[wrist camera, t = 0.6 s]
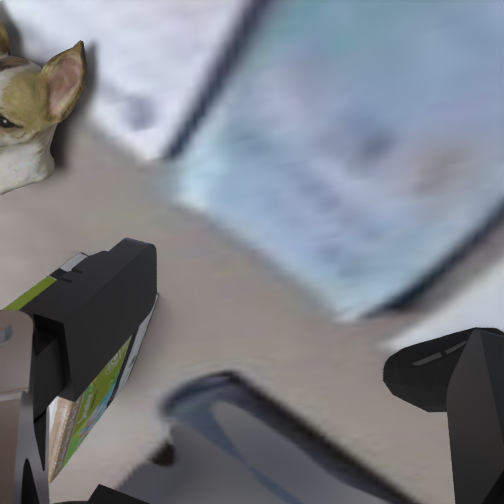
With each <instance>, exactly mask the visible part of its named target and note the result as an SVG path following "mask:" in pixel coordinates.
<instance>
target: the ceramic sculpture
mask: <svg viewBox="0 0 504 504" xmlns="http://www.w3.org/2000/svg"><path fill="white" fill-rule="evenodd" d="M10 43H11V42H10V38H9V35H8V33H7V31H6V29H5V28H4V26H3V24H2V23H1V21H0V195H2V194H4V193H7V192H9V191H12V190H14V189H17V188H20V187H22V186H26V185H29V184H32V183H35V182H39V181H42V180H44V179H46V178H48V177H49V176H51V175H52V173H53V172H54V169H55V162H54V159H53V157H52V156H51V153H50V145H51V142H52V139H53V135H54V132H55V129H56V127H57V124H58V123H59V122H62V121H63V120H65V119H66V118H67V117H68V116H69V115H70V114H71V113H72V110H73V108H74V107H76V105H77V103H78V102H79V99H80V96H81V94H82V92H83V91H84V87H85V84H86V75H87V64H86V56H85V49H84V43H83V41H81V40H80V41H79V42H78V43H77V44H76V45H75V46H74V47H73V48H70V49H68V50H66V51H63V52H61V53H59V54H57V55H56V56H54V57H53V58H51V59H50V60H49V61H48V62H47V63H46V64H45V65H44V67H43V69H42V68H41V67H39V66H38V65H37V64H35V63H34V62H32V61H30V60H27V59H25V58H22V57H16V56H9V55H10Z"/></svg>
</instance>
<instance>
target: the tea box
mask: <svg viewBox="0 0 504 504" xmlns="http://www.w3.org/2000/svg"><path fill="white" fill-rule="evenodd" d="M86 257H88V256H86V255H83V254H81V253H79V254H77V255H76V256H75V257H73V258H72V259H70V260H69V261H67V262H66V263H65V264H63V265H62V266H61V267H60V268H58V269H57V270H55V271H54V272H53V273H52V274H50V275H49V276H47V277H46V278H45V279H43V280H42V281H40V282H39V283H38V284H37V285H35V286H34V287H32V288H31V289H30V290H28V291H27V292H26V293H24V294H23V295H21V296H20V297H19V298H17V299H16V300H15V301H14V302H12V303H11V304H9V305H8V306H7V307H5V308H4V309H10V310H19V309H20V308H22V307H23V306H24V305H26V304H27V303H28V302H29V301H31V300H32V299H33V298H34V297H36V296H37V295H38V294H40V293H41V292H42V291H43V290H45V289H46V288H47V287H49V286H50V285H51V284H52V283H54V282H55V281H56V280H60V277H61V276H63V275H64V274H65V273H66V272H68V271H71V269H72V268H73V267H74V266H75V265H77V264H78V263H79V262H81V261H82V260H83V259H84V258H86ZM157 298H158V294H157V295H156V300H155V303H154V306H155V304H156V301H157ZM154 306H153V308H152V310H151V312H150V314H149V315H148V316H147V318H146V319H145V320H144V321H143V322H142V323H141V325H140V326H139V327H138V328H137V329H136V331H135V332H134V333H133V334H132V335H131V337H130V338H129V339H128V340H127V341H126V342H125V344H124V345H123V346H122V347H121V348H120V350H119V351H118V352H117V353H116V354H115V356H114V357H113V358H112V359H111V360H110V361H109V363H108V364H107V365H106V366H105V367H104V369H103V370H102V371H101V372H100V373H99V375H98V376H97V377H96V378H95V379H94V381H93V382H92V383H91V384H90V385H89V386H88V388H87V389H86V390H85V391H84V392H83V394H82V395H81V396H80V397H79V398H78V400H77V401H76V402H72V401H69V400H66V399H63V398H61V397H58V396H57V397H56V398H55V399H54V400H53V402H52V403H51V404H50V405H49V412H50V424H49V474H48V483H49V484H50V483H51V482H52V481H53V480H54V479H55V477H56V476H57V475H58V474H59V472H60V471H61V470H62V468H63V467H64V466H65V464H66V463H67V462H68V460H69V459H70V458H71V456H72V455H73V453H74V452H75V451H76V449H77V448H78V446H79V445H80V444H81V443H82V441H83V440H84V439H85V437H86V436H87V435H88V433H89V432H90V430H91V429H92V428H93V426H94V425H95V424H96V422H97V421H98V420H99V418H100V417H101V416H102V414H103V413H104V412H105V410H106V409H107V408H108V406H109V405H110V403H111V402H112V401H113V399H114V398H115V397H116V396H117V394H118V393H119V391H120V390H121V389H122V387H123V386H124V385H125V383H126V382H127V379H128V377H129V374H130V372H131V370H132V367H133V364H134V361H135V359H136V356H137V354H138V351H139V348H140V345H141V342H142V340H143V337H144V335H145V332H146V329H147V326H148V323H149V320H150V318H151V315H152V312H153V310H154ZM4 309H3V310H4Z"/></svg>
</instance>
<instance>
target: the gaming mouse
mask: <svg viewBox="0 0 504 504" xmlns="http://www.w3.org/2000/svg"><path fill="white" fill-rule="evenodd" d="M475 329H479V330H482V331H486V332H490V333H494V334H498V335H502V336H504V333H503V332H501V331H500V330H498V329H496V328H477V327H475V328H472V329H468V330H464V331H460V332H456V333H453V334H449V335H446V336H443V337H440V338H436V339H433V340H429V341H425V342H422V343H418V344H415V345H412V346H409V347H406V348H403V349H402V350H400V351H399V352H397V353H396V354H394V355H393V356H391V357H390V358H389V359H388V361H387V362H386V363H385V367H384V375H383V381H384V383H385V384H386V386H387V387H388V388H389V390H390V391H391V393H392V394H393V395H395V396H397V397H399V398H401V399H402V400H404V401H406V402H408V403H410V404H413V405H415V406H417V407H419V408H421V409H423V410H425V411H427V412H447V404H446V398H447V390H448V385H449V381H450V378H451V376H452V374H453V371H454V369H455V367H456V365H457V363H458V361H459V359H460V356H461V354H462V352H463V350H464V348H465V346H466V343H467V341H468V339H469V337H470V335H471V333H472V332H473V331H474V330H475Z"/></svg>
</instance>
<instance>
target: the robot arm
mask: <svg viewBox="0 0 504 504" xmlns="http://www.w3.org/2000/svg"><path fill="white" fill-rule="evenodd" d="M156 295H157V253H156V248H155V246H154V245H153V244H150V243H146V242H142V241H138V240H134V239H130V238H125V239H123V240H122V241H121V242H119V243H118V244H117V245H116V246H114V247H113V248H112V249H111V250H110V251H108V252H107V251H101V252H99V253H96V254H94V255H91V256H89V257H86V258H84V259H83V260H82V261H81V262H79V263H78V264H77V265H75V266H74V267H73V268H72V269H71V271H68V272H66V273H65V274H64V275H63V276H61V277H60V280H56V281H55V282H54V283H52V284H51V285H50V286H49V287H47V288H46V289H45V290H43V291H42V292H41V293H40V294H38V295H37V296H36V297H34V298H33V299H32V300H31V301H29V302H28V303H27V304H26V305H24V306H23V307H22V308H20V309H19V310H10V309H4V310H0V504H50V500H49V486H48V474H49V424H50V412H49V405H50V404H51V403H52V402H53V400H54V399H55V398H56V397H57V396H58V397H61V398H63V399H66V400H69V401H72V402H76V401H77V400H78V398H79V397H80V396H81V395H82V394H83V392H84V391H85V390H86V389H87V388H88V386H89V385H90V384H91V383H92V382H93V381H94V379H95V378H96V377H97V376H98V375H99V373H100V372H101V371H102V370H103V369H104V367H105V366H106V365H107V364H108V363H109V361H110V360H111V359H112V358H113V357H114V356H115V354H116V353H117V352H118V351H119V350H120V348H121V347H122V346H123V345H124V344H125V342H126V341H127V340H128V339H129V338H130V337H131V335H132V334H133V333H134V332H135V331H136V329H137V328H138V327H139V326H140V325H141V323H142V322H143V321H144V320H145V319H146V318H147V316H148V315H149V314H150V312H151V310H152V308H153V306H154V303H155V300H156ZM446 404H447V416H448V427H449V438H450V449H451V460H452V471H453V482H454V493H455V504H504V336H502V335H498V334H494V333H490V332H486V331H482V330H479V329H475V330H474V331H473V332H472V333H471V335H470V337H469V339H468V341H467V343H466V346H465V348H464V350H463V352H462V354H461V356H460V359H459V361H458V363H457V365H456V367H455V369H454V371H453V374H452V376H451V378H450V381H449V385H448V390H447V398H446ZM55 504H149V503H147V502H144V501H142V500H139V499H136V498H134V497H131V496H129V495H126V494H124V493H121V492H118V491H116V490H113V489H111V488H108V487H106V486H103V485H101V484H99V485H98V486H97V488H96V489H95V491H94V492H93V494H92V496H91V497H90V499H89V500H88V501H67V502H61V503H55Z"/></svg>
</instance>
